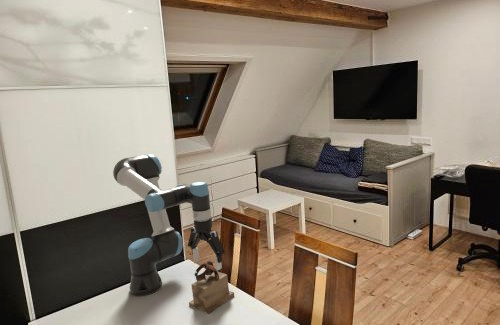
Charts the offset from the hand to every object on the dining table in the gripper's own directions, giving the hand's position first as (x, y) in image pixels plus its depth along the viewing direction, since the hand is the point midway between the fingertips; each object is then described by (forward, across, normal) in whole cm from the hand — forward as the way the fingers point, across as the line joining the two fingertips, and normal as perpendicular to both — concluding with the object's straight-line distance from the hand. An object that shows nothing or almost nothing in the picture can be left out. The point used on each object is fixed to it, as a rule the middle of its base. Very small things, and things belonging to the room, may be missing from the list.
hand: (207, 265), depth 151 cm
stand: (+16, +1, 0) cm, 16 cm away
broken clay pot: (+7, 0, 0) cm, 7 cm away
